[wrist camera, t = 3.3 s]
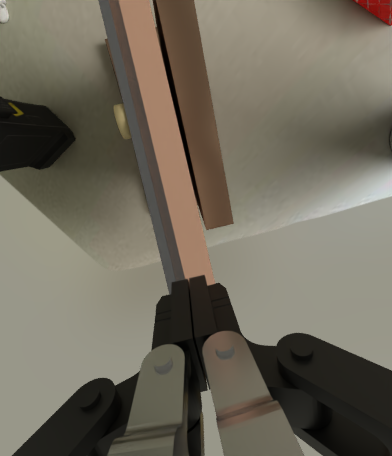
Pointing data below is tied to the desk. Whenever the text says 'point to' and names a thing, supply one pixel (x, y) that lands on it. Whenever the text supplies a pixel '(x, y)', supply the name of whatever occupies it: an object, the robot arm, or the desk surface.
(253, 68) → the desk surface
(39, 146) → the portable radio
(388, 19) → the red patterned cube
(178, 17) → the frame stand
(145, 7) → the picture frame
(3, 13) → the hat wearing toy figure
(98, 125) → the desk surface
